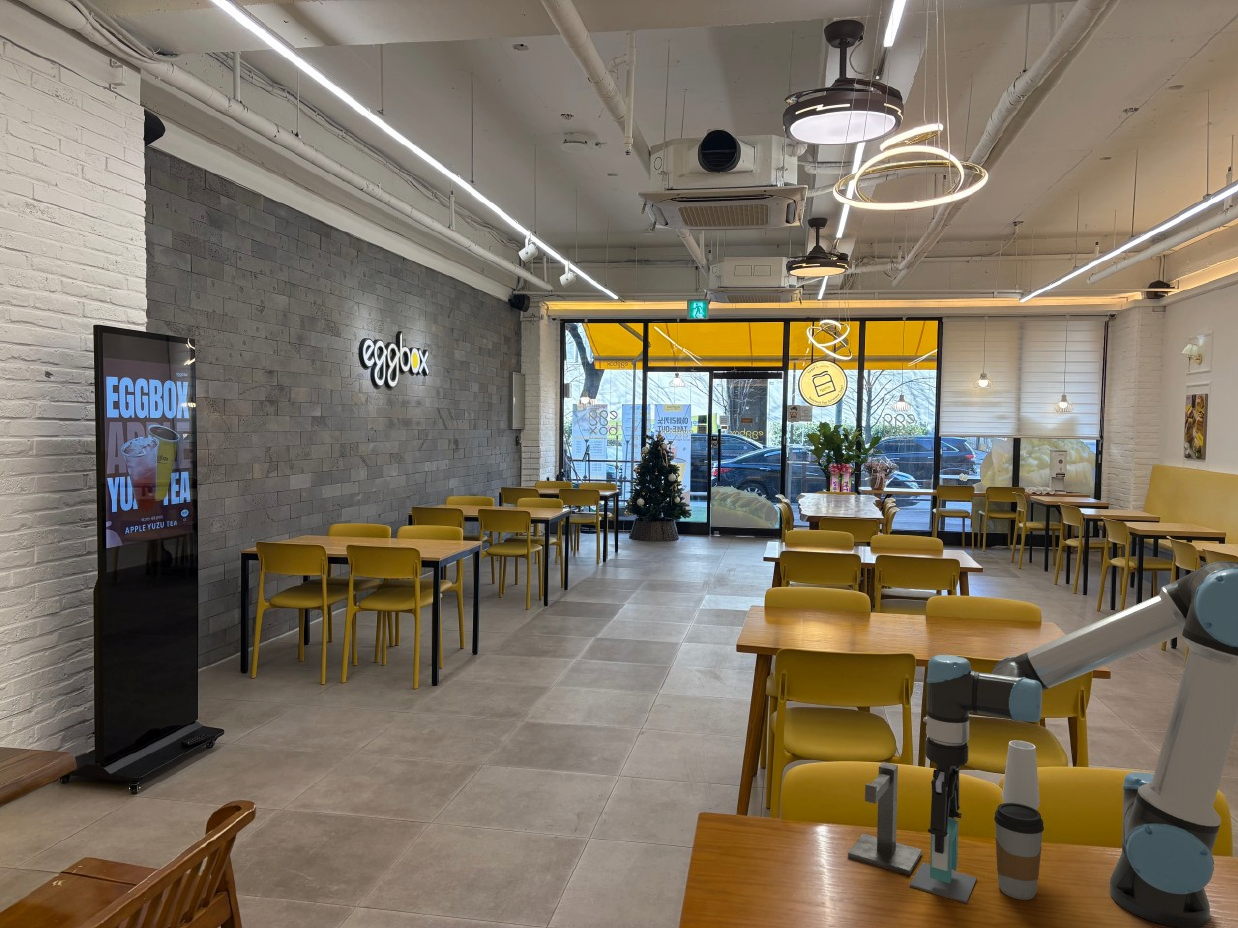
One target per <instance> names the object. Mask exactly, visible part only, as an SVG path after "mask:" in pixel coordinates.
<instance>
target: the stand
mask: <svg viewBox="0 0 1238 928" xmlns="http://www.w3.org/2000/svg"><path fill="white" fill-rule="evenodd" d="M898 772H899V765H898V764H895V763H889V762H885V761H882V762H881V763H880V764H879V766H878V775H877V776H875V777H876V778H875V779H873V780H872V782H871V783H869V782H866V783H865V786H864V788H865V789H864V801H865V802H867V803H871V804H875V805H876V804H877V822H876V823H877V826H876V827H877V831H876V832H877V833H876V835H877V837H876V836H874V835H871V834H866V833H862V834H861V835H860V836H859V838H857V840H856V842H855V843H854V844H853V845H852V847H851V848H850V849H849V851H847V859H852V860H855V861H859V862H861V863H864V864H865V863H866V864H868V865H872V866H875V867H879V868H882V869H886V870H889V871H892V872H896V873H899V874H902V875H905V876H911V873H912V872H913V870H914V869H915V867H916V865H917V863H918V862H919V860H920V858H921V857H922V854H923V849H920V848H917V847H914V846H910V845H906V844H903V843H899V842H897V824H898V823H897V817H898V816H897V813H898V781H899V780H898V777H899V776H898V774H899V773H898ZM920 856H921V857H920Z"/></svg>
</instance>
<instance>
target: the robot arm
mask: <svg viewBox="0 0 1238 928" xmlns="http://www.w3.org/2000/svg"><path fill="white" fill-rule="evenodd" d="M1180 636H1181V638H1182V639H1183V641H1184V643H1185V644H1186V645H1187V647H1188V652H1187V653H1188V654H1187V657H1186V659H1185V663H1184V664H1185V665H1184V666H1183V671H1182V673H1181V674H1182V675H1181V678H1180V681H1179V684H1178V688H1177V692H1176V694H1175V696H1176V697H1175V700H1174V702H1173V706H1172V709H1171V713H1170V717H1169V720H1168V722H1167V723H1168V724H1167V727H1166V731H1165V733H1164V738H1163V742H1162V744H1161V748H1160V752H1159V754H1158V758H1157V763H1156V766H1155V769H1154V773H1151V772H1142V771H1141V772H1140V771H1137V772H1130V773H1127V774H1125V776H1124V779H1123V780H1124V781H1123V785H1122V786H1121V787H1122V790H1123V800H1122V802H1123V803H1122V805H1123V806H1122V833H1121V834H1122V835H1121V837H1122V838H1121V844H1122V845H1121V854H1120V856H1119V858H1118V861H1117V863H1116V865H1115V867H1114V869H1113V872H1112V874H1111V876H1110V880H1109V894H1110V897H1111V898H1112V899H1113V901H1114V902H1116V904H1118V905H1119V906H1120V907H1121V908H1123V909H1125V910H1127V912H1130V913H1132V914H1134V915H1136V916H1138V917H1140V918H1143V919H1144V920H1147V921H1150V922H1153V923H1157V924H1160V925H1162V926H1163V925H1165V926H1169V927H1176V928H1201V927H1204V926H1206V925H1208V923H1209V921H1210V918H1211V915H1210V914H1211V906H1210V902H1209V898H1208V896H1207V892H1206V890H1205V887H1206V886H1208V884H1209V883H1210V882H1211V880H1212V878H1213V874H1214V871H1215V861H1214V857H1213V850H1214V847H1215V843H1216V840H1217V837H1218V833H1219V830H1220V826H1221V823H1222V818H1221V816H1220V815H1219V814H1218V812H1217V811H1216V809H1215V808H1214V804H1215V801H1216V797H1217V794H1218V790H1219V787H1220V784H1221V780H1222V777H1223V773H1224V770H1225V767H1226V763H1227V760H1228V757H1229V753H1230V749H1231V747H1232V743H1233V739H1234V736H1235V732H1236V730H1237V727H1238V562H1237V561H1231V560H1224V561H1223V560H1219V561H1216V562H1211V563H1209V564H1205V565H1204V566H1202V567H1200V568H1198V569H1195V570H1194V571H1193V572H1190V573H1189V574H1186V575H1184V576H1182V577H1180V578H1179V579H1176V580H1175V581H1173V582H1170V583H1168V584H1166V585H1164V586H1162V587H1161V588H1160V591H1159V594H1158V595H1155V596H1154V597H1151V598H1149V599H1147V600H1144V601H1142V602H1140V603H1138V604H1135V605H1133V606H1130V607H1128V608H1126V609H1123V610H1121V611H1118V612H1117V613H1114V614H1112V615H1110V616H1107V617H1105V618H1102V619H1101V620H1097V621H1095V622H1093V623H1090V624H1088V625H1086V626H1083V627H1081V628H1079V629H1077V630H1074V631H1073V632H1070V633H1067V634H1065V635H1062V636H1061V637H1058V638H1056V639H1054V640H1051V641H1049V642H1047V643H1044V644H1041V645H1039V646H1037V647H1035V648H1032V649H1030V650H1028V651H1026V652H1023V653H1022V654H1019V655H1017V656H1008V657H1004V658H1003V659H1002V658H1001V660H1000V661H998V662H997V663H996V664H995V666H994V667H993V669H992V672H991V673H987V672H980V671H976V670H972V667H971V662H970V661H969V660H968V659H967V658H965V657H962V656H957V655H951V654H938V655H934V656H932V657H931V658H930V659H929V660H928V662H927V663H928V664H927V676H926V677H927V678H926V680H925V681H926V716H925V717H923V719H922V721H923V723H926V726H925V734H926V735H927V736H926V737H925V753H924V754H925V758H927V759H928V760H929V761H931V762H933V763H934V764H936V768H935V769H933V773H932V779H931V782H930V783H931V801H930V804H931V806H930V822H929V823H930V824H929V825H930V827H929V828H927V832H928V833H929V834H930V835H931V834H932V867H934V868H938V869H941V870H945V871H947V870H948V844H949V834H948V832H947V829H948V819H952V820H956V821H958V819H962V815H963V814H962V813H961V812H959V811H960V767H961V766H964V765H966V764H967V763H968V761H969V743H968V741H969V739H970V713H973V714H979V715H985V716H990V717H991V716H992V717H997V718H1001V719H1002V718H1003V719H1006V720H1008V719H1009V720H1013V721H1016V722H1027V723H1028V722H1030V723H1037V722H1039V721H1040V719H1041V717H1042V709H1043V692H1044V691H1046V690H1049V689H1050V688H1053V687H1055V686H1057V685H1060V684H1063V683H1066V682H1067V681H1070V680H1072V679H1075V678H1078V677H1080V676H1083V675H1086V674H1088V673H1090V672H1093V671H1095V670H1098V669H1100V668H1102V667H1105V666H1107V665H1110V664H1112V663H1115V662H1117V661H1120V660H1123V659H1125V658H1128V657H1130V656H1133V655H1135V654H1137V653H1139V652H1142V651H1146V650H1147V649H1151V648H1152V647H1153V648H1154V647H1155V646H1157V645H1160V644H1162V643H1165V642H1167V641H1170V640H1172V639H1174V638H1178V637H1180Z"/></svg>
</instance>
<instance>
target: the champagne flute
mask: <svg viewBox="0 0 1238 928" xmlns="http://www.w3.org/2000/svg"><path fill="white" fill-rule="evenodd" d="M1036 748H1037V747H1036V745H1035V744H1034V743H1031V742H1029V741H1028V742H1027V741H1025V740H1010V741H1009V742H1008V748H1007V755H1006V764H1005V772H1004V779H1003V784H1002V785H1003V786H1002V793H1001V797H1002V798H1001V799H1002V802H1003V803H1016V804H1022V805H1026V806H1029V807H1031V808H1033V809H1035V810H1037V811H1038V808H1039V807H1040V805H1041V799H1040V787H1039V776H1038V774H1039V773H1038V764H1037V763H1038V762H1037V761H1038V760H1037V750H1036Z"/></svg>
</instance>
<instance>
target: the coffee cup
mask: <svg viewBox="0 0 1238 928" xmlns="http://www.w3.org/2000/svg"><path fill="white" fill-rule="evenodd" d="M993 820H994V822H995V850H996V851H995V853H996V871H997V881H998V882H997V883H998V887H999V889H1000V891H1001V892H1002V893H1003V894H1004V895H1006V896H1008V897H1010V898H1013V899H1016V900H1024V901H1025V900H1027V901H1028V900H1032V899H1034V898H1035V896H1036V895H1037V890H1038V880H1039V877H1040V875H1039V874H1040V867H1041V865H1040V864H1041V854H1042V840H1043V832H1044V830H1045V827H1044V820H1043V819H1042V814H1041V813H1040V812H1039V811H1038V809H1037V810H1035V809H1033V808H1031V807H1029V806H1026V805H1022V804H1016V803H1004V802H1003V803H1000V804H999V805H997V809H996V810H995V811H994V818H993Z"/></svg>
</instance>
